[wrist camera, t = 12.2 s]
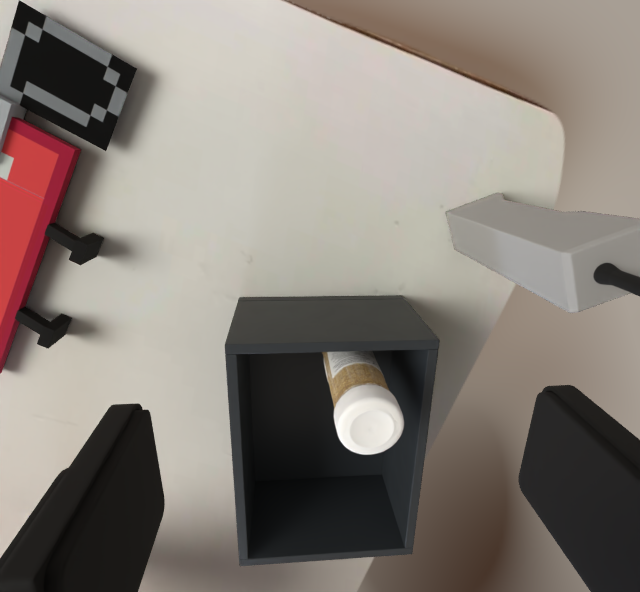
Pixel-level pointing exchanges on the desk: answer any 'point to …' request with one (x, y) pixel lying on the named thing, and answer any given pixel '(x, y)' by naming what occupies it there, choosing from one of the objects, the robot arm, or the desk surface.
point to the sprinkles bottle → (362, 402)
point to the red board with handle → (47, 153)
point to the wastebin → (323, 428)
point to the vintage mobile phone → (551, 249)
